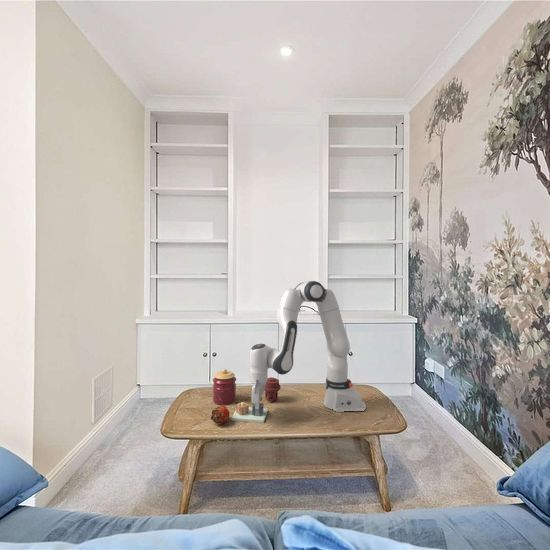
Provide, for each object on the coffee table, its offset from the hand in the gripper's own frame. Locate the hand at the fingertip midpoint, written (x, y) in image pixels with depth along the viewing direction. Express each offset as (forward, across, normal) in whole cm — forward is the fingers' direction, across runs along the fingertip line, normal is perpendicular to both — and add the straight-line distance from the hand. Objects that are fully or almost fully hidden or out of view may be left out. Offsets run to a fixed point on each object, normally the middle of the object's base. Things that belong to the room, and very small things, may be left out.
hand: (258, 404), depth 163 cm
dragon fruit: (+6, -8, +18) cm, 20 cm away
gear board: (+6, 0, +4) cm, 8 cm away
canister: (+6, +16, +22) cm, 28 cm away
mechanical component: (+6, +20, -4) cm, 21 cm away
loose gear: (+5, 0, 0) cm, 5 cm away
